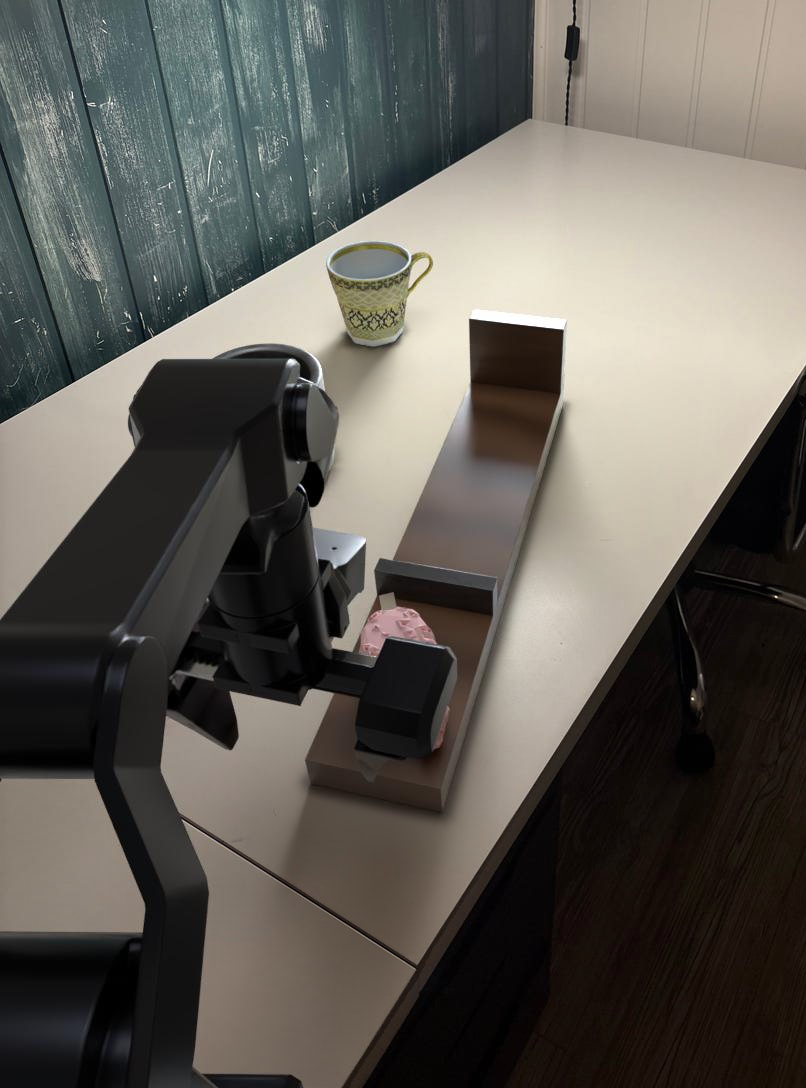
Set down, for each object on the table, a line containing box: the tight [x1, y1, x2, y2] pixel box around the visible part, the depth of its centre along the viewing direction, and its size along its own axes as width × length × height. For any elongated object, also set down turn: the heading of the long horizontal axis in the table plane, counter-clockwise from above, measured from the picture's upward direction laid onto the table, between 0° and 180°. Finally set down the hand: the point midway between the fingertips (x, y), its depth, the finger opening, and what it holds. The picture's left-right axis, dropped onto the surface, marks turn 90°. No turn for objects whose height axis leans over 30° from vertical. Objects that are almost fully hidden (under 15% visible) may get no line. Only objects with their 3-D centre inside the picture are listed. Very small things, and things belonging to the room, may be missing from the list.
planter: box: [211, 342, 335, 474], centre depth 94 cm, size 12×13×11 cm
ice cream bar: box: [359, 592, 450, 750], centre depth 71 cm, size 6×4×15 cm
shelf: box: [304, 309, 568, 813], centre depth 83 cm, size 50×10×11 cm, turn 166°
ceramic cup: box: [325, 240, 434, 348], centre depth 115 cm, size 13×10×10 cm
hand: (302, 759), depth 58 cm, fingers open, 9 cm apart
